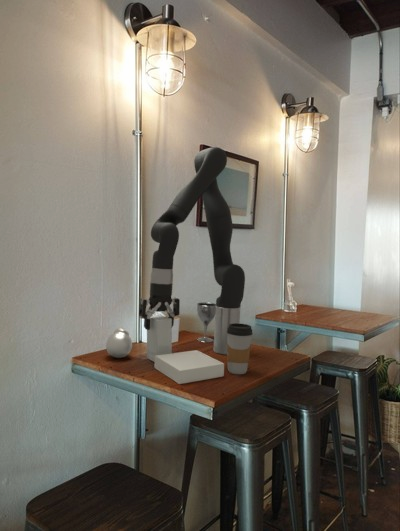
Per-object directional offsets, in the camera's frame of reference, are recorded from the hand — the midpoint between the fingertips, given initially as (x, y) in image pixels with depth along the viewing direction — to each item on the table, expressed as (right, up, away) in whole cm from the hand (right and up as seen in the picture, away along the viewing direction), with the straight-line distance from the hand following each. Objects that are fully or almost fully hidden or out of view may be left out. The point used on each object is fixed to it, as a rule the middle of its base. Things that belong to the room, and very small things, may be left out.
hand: (158, 328), depth 144 cm
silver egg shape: (-14, -10, +2) cm, 17 cm away
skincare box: (0, -11, +1) cm, 11 cm away
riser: (+10, -12, -10) cm, 19 cm away
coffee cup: (+26, -13, -7) cm, 30 cm away
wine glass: (+16, -9, +31) cm, 36 cm away
